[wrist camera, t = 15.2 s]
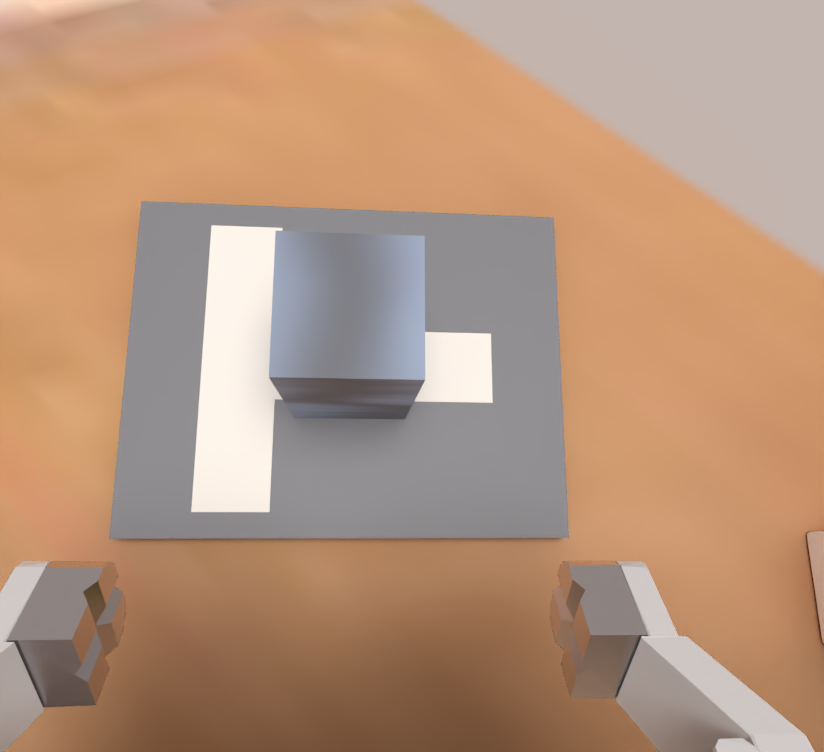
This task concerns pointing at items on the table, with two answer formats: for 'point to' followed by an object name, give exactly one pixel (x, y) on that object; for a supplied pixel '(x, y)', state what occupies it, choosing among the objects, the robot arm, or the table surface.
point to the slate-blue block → (348, 324)
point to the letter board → (339, 437)
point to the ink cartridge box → (818, 571)
